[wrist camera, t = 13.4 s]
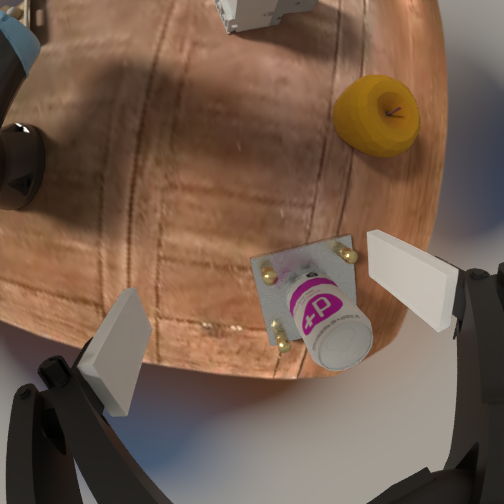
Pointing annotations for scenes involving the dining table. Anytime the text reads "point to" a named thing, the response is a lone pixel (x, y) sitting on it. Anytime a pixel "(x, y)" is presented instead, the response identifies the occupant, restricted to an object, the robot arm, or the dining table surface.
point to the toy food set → (21, 13)
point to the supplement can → (329, 322)
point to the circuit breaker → (258, 12)
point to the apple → (377, 116)
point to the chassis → (290, 268)
